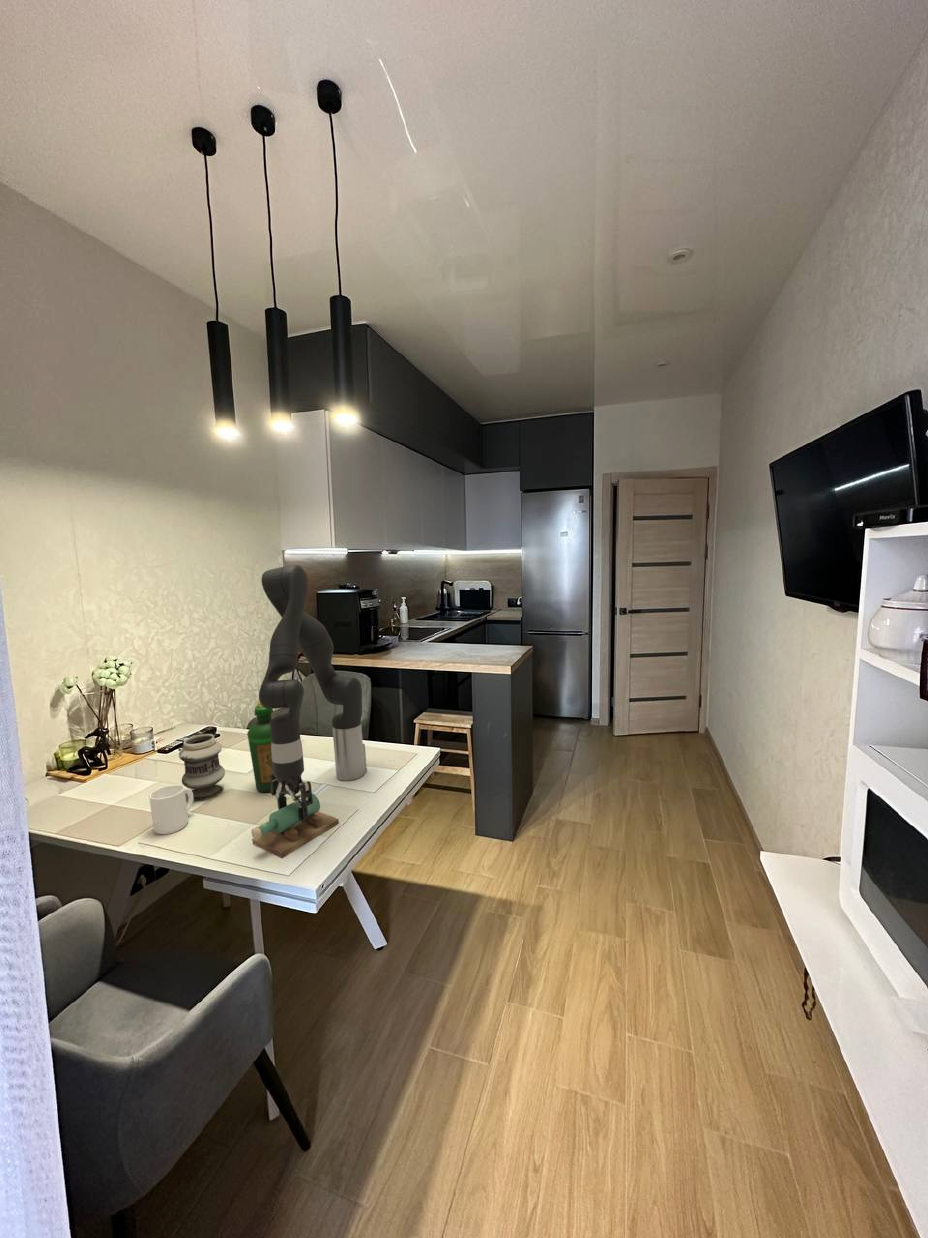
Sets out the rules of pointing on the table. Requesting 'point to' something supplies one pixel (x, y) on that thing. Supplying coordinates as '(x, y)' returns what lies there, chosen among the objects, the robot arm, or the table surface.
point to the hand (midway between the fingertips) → (293, 815)
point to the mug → (170, 808)
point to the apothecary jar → (202, 766)
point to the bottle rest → (296, 834)
